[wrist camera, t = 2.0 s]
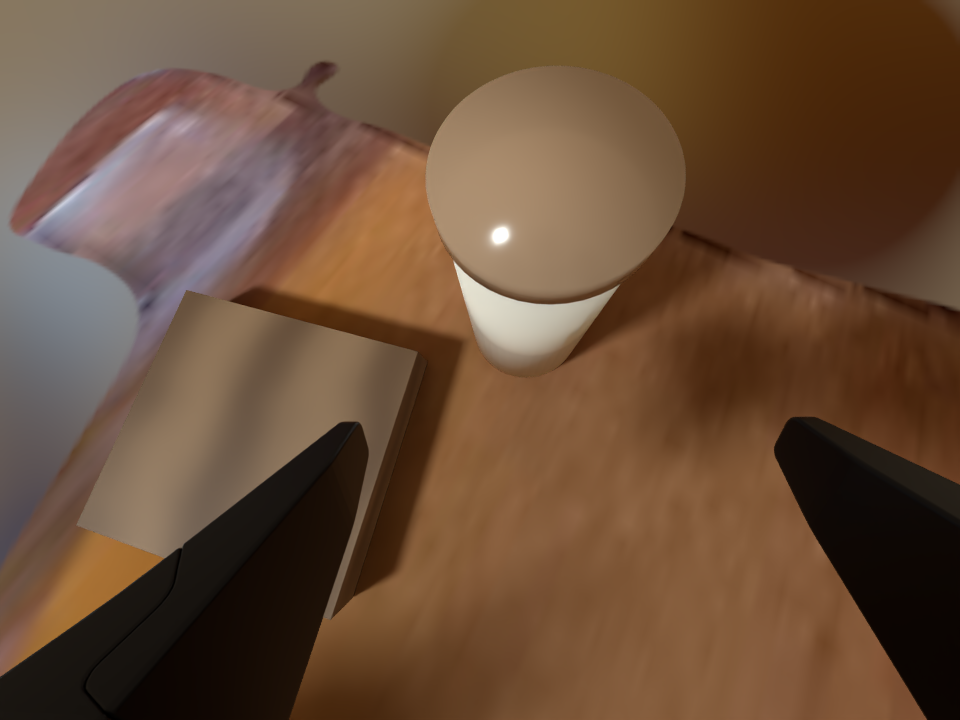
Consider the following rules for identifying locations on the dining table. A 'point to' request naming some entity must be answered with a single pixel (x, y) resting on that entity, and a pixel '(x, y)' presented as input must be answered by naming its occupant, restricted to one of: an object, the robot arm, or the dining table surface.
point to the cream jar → (550, 205)
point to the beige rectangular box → (248, 424)
